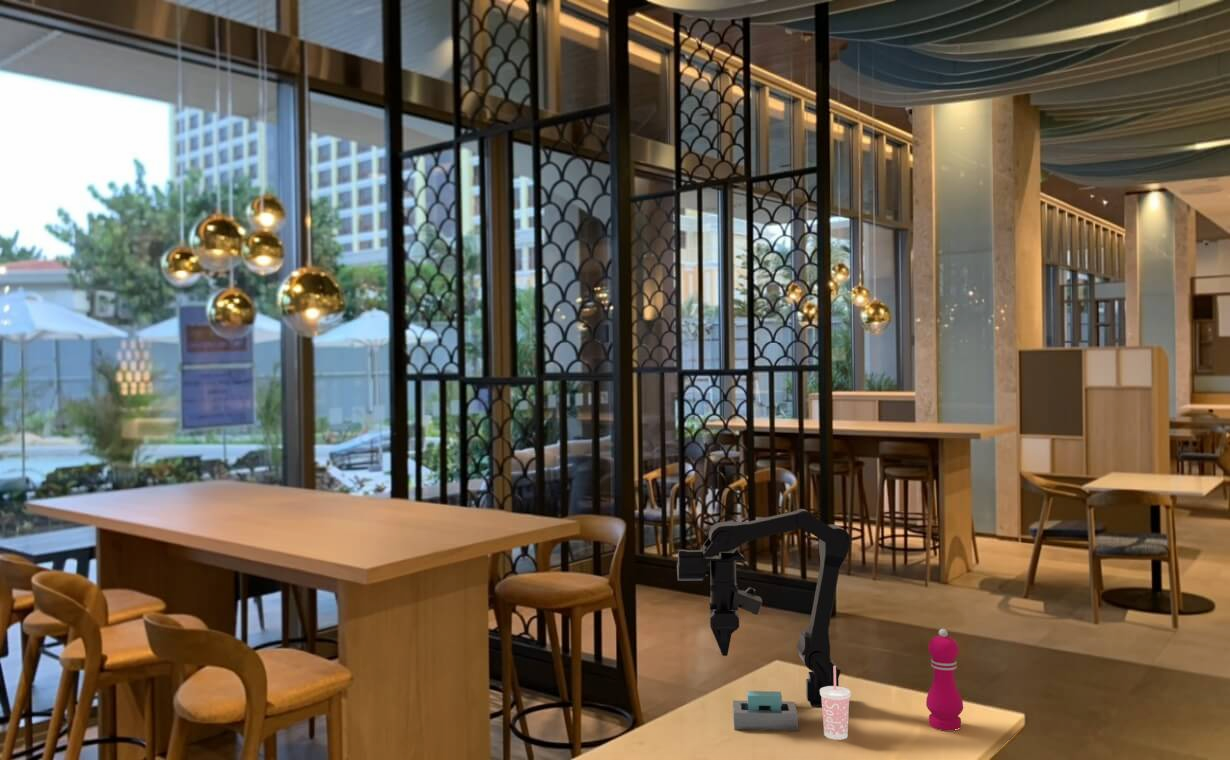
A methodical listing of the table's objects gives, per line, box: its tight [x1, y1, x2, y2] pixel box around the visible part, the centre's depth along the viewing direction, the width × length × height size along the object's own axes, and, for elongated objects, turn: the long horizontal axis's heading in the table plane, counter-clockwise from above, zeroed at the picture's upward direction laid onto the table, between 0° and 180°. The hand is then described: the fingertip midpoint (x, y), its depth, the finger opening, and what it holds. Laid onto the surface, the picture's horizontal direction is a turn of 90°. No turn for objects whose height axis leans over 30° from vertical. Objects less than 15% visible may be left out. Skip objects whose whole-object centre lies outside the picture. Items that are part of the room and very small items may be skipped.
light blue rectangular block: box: [746, 690, 783, 711], centre depth 191 cm, size 7×3×6 cm, turn 84°
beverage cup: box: [820, 665, 851, 741], centre depth 184 cm, size 6×6×14 cm
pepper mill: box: [925, 628, 964, 731], centre depth 188 cm, size 7×7×20 cm
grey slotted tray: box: [732, 700, 799, 732], centre depth 191 cm, size 13×7×4 cm, turn 84°
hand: (724, 649), depth 204 cm, fingers open, 9 cm apart
